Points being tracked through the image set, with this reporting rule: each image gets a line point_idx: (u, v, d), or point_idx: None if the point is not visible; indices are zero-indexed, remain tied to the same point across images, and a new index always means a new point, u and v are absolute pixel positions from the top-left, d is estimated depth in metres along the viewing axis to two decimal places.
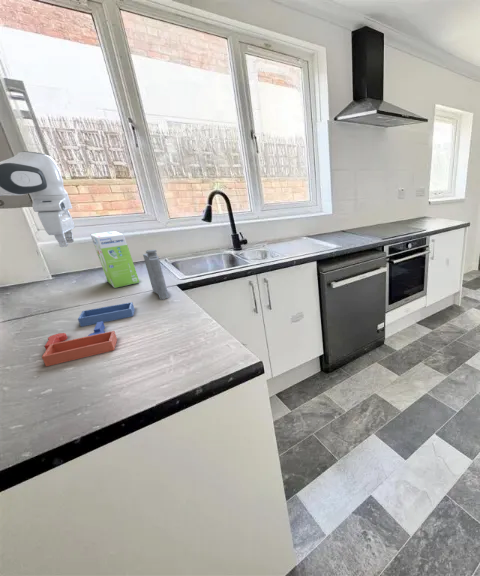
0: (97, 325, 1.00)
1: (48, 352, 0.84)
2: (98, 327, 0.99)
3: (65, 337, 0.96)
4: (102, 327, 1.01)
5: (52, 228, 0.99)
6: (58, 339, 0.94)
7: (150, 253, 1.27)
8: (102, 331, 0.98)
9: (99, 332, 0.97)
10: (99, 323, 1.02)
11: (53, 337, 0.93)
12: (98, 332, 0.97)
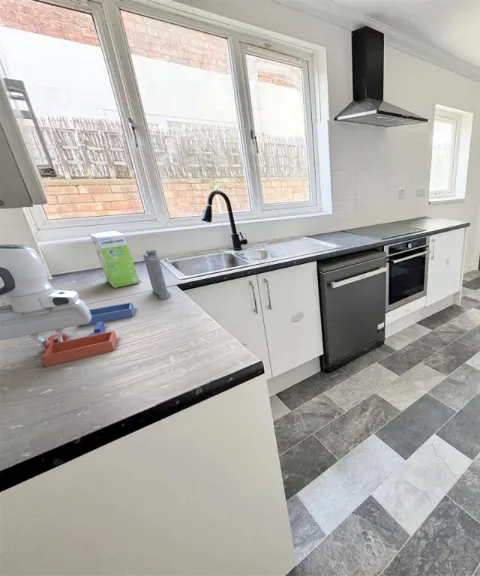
0: (97, 325, 1.00)
1: (48, 352, 0.84)
2: (98, 327, 0.99)
3: (65, 337, 0.96)
4: (102, 327, 1.01)
5: (89, 315, 0.95)
6: None
7: (150, 253, 1.27)
8: (102, 331, 0.98)
9: (99, 332, 0.97)
10: (99, 323, 1.02)
11: (53, 337, 0.93)
12: (98, 332, 0.97)
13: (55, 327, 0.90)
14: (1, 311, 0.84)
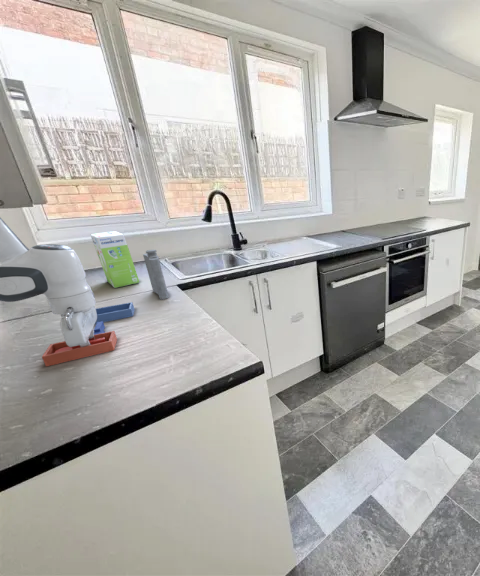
0: (97, 325, 1.00)
1: (48, 352, 0.84)
2: (98, 327, 0.99)
3: None
4: (102, 327, 1.01)
5: None
6: None
7: (150, 253, 1.27)
8: (102, 331, 0.98)
9: (99, 332, 0.97)
10: (99, 323, 1.02)
11: None
12: (98, 332, 0.97)
13: (93, 325, 0.91)
14: (71, 314, 0.81)
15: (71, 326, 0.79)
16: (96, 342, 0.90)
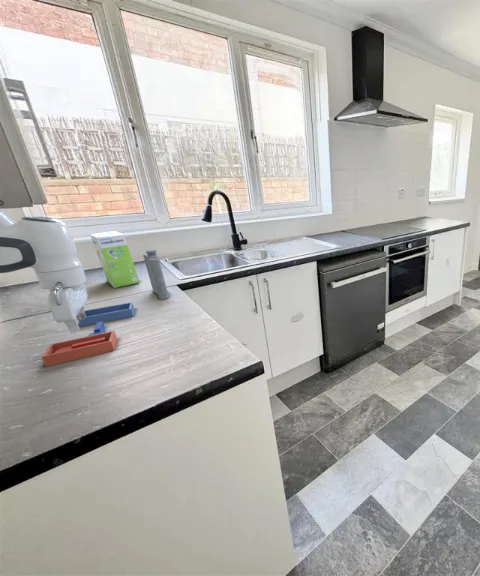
0: (97, 325, 1.00)
1: (48, 352, 0.84)
2: (98, 327, 0.99)
3: None
4: (102, 327, 1.01)
5: None
6: None
7: (150, 253, 1.27)
8: (102, 331, 0.98)
9: (99, 332, 0.97)
10: (99, 323, 1.02)
11: (78, 343, 0.88)
12: (98, 332, 0.97)
13: (83, 303, 0.88)
14: (60, 289, 0.78)
15: (60, 301, 0.77)
16: (96, 342, 0.90)
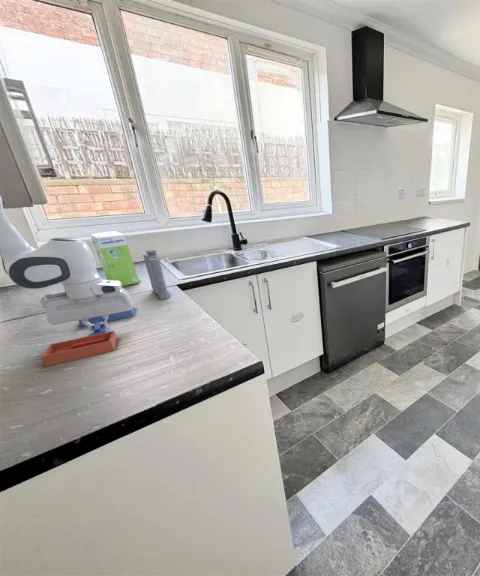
0: (97, 325, 1.00)
1: (48, 352, 0.84)
2: (98, 327, 0.99)
3: None
4: None
5: (131, 302, 1.04)
6: None
7: (150, 253, 1.27)
8: (102, 331, 0.98)
9: (99, 332, 0.97)
10: (99, 323, 1.02)
11: (78, 343, 0.88)
12: (98, 332, 0.97)
13: (102, 313, 0.99)
14: (57, 298, 0.93)
15: (45, 307, 0.92)
16: (96, 342, 0.90)
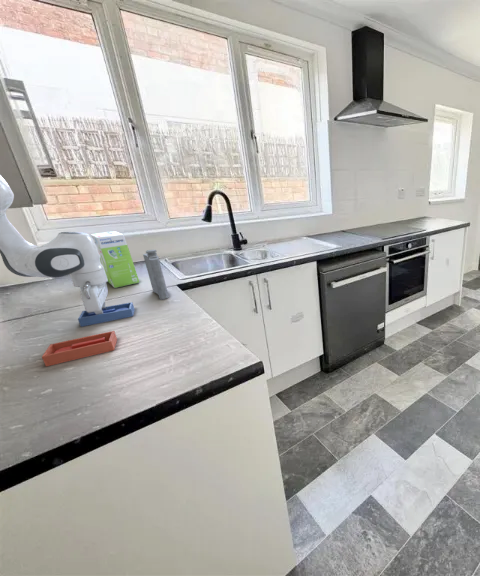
0: None
1: (48, 352, 0.84)
2: (109, 309, 1.11)
3: None
4: None
5: None
6: None
7: (150, 253, 1.27)
8: (118, 309, 1.14)
9: (119, 309, 1.13)
10: None
11: (78, 343, 0.88)
12: (118, 310, 1.13)
13: (105, 298, 1.11)
14: (88, 287, 1.01)
15: (89, 296, 1.00)
16: (96, 342, 0.90)
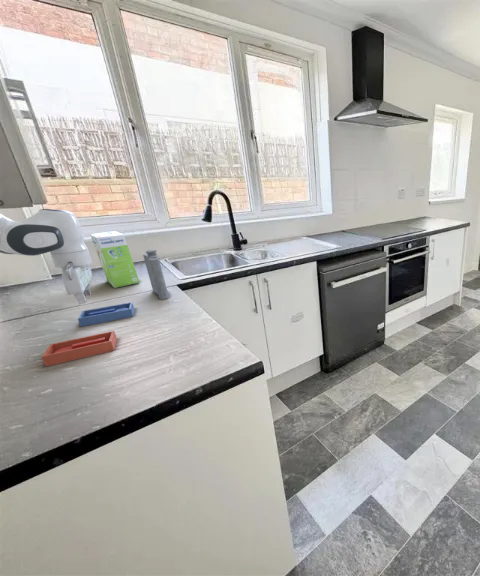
0: (101, 311, 1.10)
1: (48, 352, 0.84)
2: (109, 309, 1.11)
3: None
4: (102, 313, 1.11)
5: None
6: None
7: (150, 253, 1.27)
8: (118, 309, 1.14)
9: (119, 309, 1.13)
10: (95, 312, 1.09)
11: (78, 343, 0.88)
12: (118, 310, 1.13)
13: (88, 281, 1.06)
14: (71, 267, 0.96)
15: (71, 276, 0.94)
16: (96, 342, 0.90)
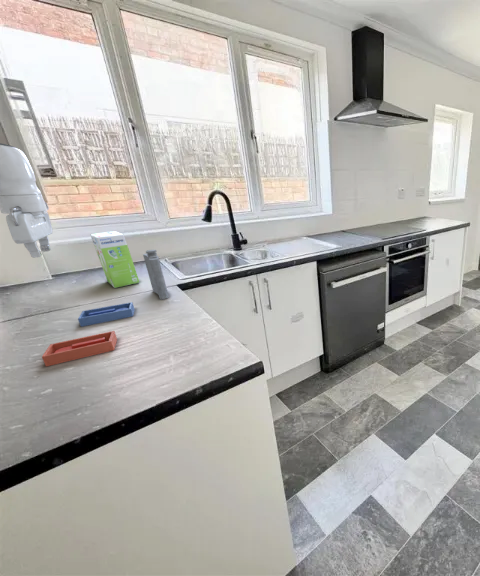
0: (101, 311, 1.10)
1: (48, 352, 0.84)
2: (109, 309, 1.11)
3: None
4: (102, 313, 1.11)
5: None
6: None
7: (150, 253, 1.27)
8: (118, 309, 1.14)
9: (119, 309, 1.13)
10: (95, 312, 1.09)
11: (78, 343, 0.88)
12: (118, 310, 1.13)
13: (46, 234, 0.92)
14: (18, 212, 0.82)
15: (18, 222, 0.80)
16: (96, 342, 0.90)
